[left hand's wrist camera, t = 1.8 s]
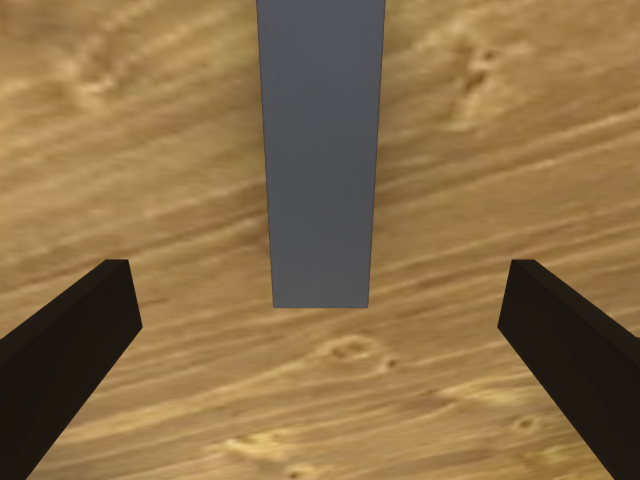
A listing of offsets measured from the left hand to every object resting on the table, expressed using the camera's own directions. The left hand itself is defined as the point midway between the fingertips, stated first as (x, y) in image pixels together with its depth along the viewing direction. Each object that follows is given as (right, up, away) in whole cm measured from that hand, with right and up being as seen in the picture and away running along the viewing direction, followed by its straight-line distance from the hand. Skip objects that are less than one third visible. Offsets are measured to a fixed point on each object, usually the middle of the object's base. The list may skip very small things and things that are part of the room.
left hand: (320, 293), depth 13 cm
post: (0, +27, +4) cm, 27 cm away
